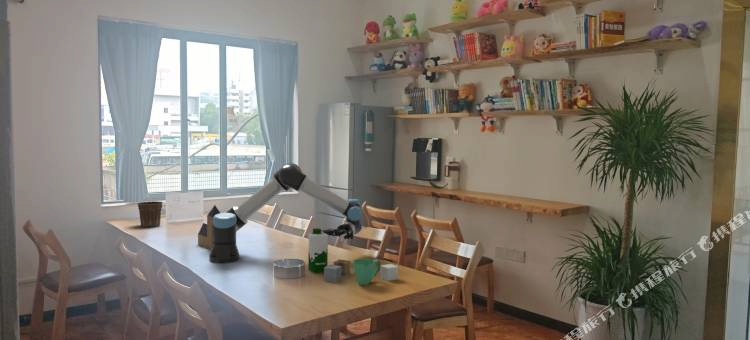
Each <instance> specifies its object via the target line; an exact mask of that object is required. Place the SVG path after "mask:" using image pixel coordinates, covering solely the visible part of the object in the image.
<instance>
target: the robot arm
mask: <svg viewBox="0 0 750 340" xmlns="http://www.w3.org/2000/svg"><path fill="white" fill-rule="evenodd" d="M290 189H292V190H294V191H296V192H301V193H304V194H306V195H307V196H309V197H311V198H312V199H314V200H316V201H318V202H320V203H322V204H323V205H325V206H326V207H328V208H330V209H332V210H334V211H335V212H338V213H339V214H341V215H343V216H344V217H345V218H346V219H345V221H346V222H344V223H342V224H339V225H338V226H337V228H327V229H321V232H323V233H326V234H327V235H329V237H330V236H332V237H339V242H343V241H345V240H349V239H350V240H354V235H357V234H359V233H360V232H361V231H362V230H363V227H364V226H363V223H362V221H361V218H362V215H363V212H362V209H361V200H360V199H358V198H349V199H345V198H343V197H342V196H340V195H338V194H336V193H335V192H332V191H331V190H329V189H327V188H325V187H324V186H322V185H320V184H318V183H316V182H315V181H313V180H311V179H310V178H309V177H308V175H307V174H305V173H304V172H303V171H302V169H301V168H300V166H299V165H297V164H296V163H292V162H289V163H285V164H284V165H283V166H282V167H280V168H279V170H277V171H276V172H275V173H273V174H272V178H271V180H269V181H268V182H267V183H265V184H264V185H263V186H261V188H259V189H258V190H257V191H255V192H253V194H252V195H251V196H249V197H248V198H246V200H244V201H243V202H241V204H239V205H237V206H232V207H230V209H229V210H228V209H227V211H226V212H220V214H216V215H215V216H214V217H213V246H212V249H211V250H210V252H209V255H208V256H209V257H208V260H209V261H210V262H213V263H219V264H220V263H233V262H236V261H239V260H240V257H241V256H240V252H239V249H238V246H237V232H238V231H239V230H241V229H242V228H243V227H244V226H246V224H248V221H249V220H248V219H250V218H251V217H252V216H254V214H256V213H257V212H258V211H260V210H261V209H262V208H263V207H265V206H266V205H267V204H268V203H270V202H271V201H272V200H273V199H275V198H276V197H277V196H279V195H280V194H281V193H282V192H288V191H289V190H290Z"/></svg>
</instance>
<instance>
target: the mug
mask: <svg viewBox="0 0 750 340" xmlns="http://www.w3.org/2000/svg"><path fill="white" fill-rule="evenodd" d="M380 265H381V263H380V261H379V260H378V259H369V258H357V259H353V260H352V266H353V271H354V276H355V279H356V282H357V284H358V285H360V286H367V285H369V284H370V282H371V281H372V280H373V279H374V278H375V277H376V275H377V274H378V272H380Z"/></svg>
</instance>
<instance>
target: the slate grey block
mask: <svg viewBox="0 0 750 340" xmlns="http://www.w3.org/2000/svg"><path fill="white" fill-rule="evenodd" d="M342 277H343V276H342V266H337V265H333V264H329V265H328V264H327V266H326V267H324V272H323V281H326V282H333V283H336V282H338V281H341V280H342V279H343V278H342Z"/></svg>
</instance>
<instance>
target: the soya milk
mask: <svg viewBox="0 0 750 340" xmlns="http://www.w3.org/2000/svg"><path fill="white" fill-rule="evenodd" d="M321 230H322V229H321V228H312V232H310V233H308V257H307V258H308V270H309V271H310V272H312V273H313V274H316V273H317V274H319V273H320V274H321V273H324V267H326V266H328V261H329V259H328V257H329V256H328V255H329V251H328V247H329V237H330V236H329V235H327V234H326V233H323V232H321Z"/></svg>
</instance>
